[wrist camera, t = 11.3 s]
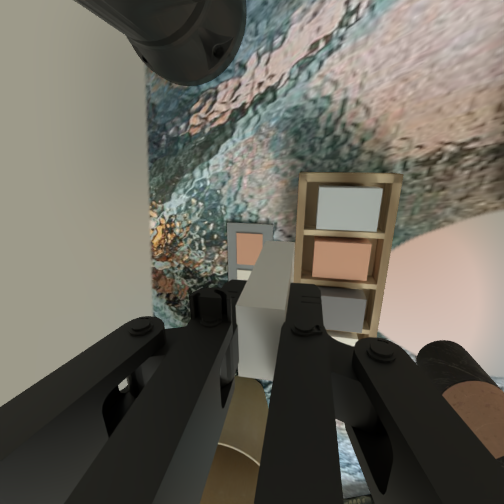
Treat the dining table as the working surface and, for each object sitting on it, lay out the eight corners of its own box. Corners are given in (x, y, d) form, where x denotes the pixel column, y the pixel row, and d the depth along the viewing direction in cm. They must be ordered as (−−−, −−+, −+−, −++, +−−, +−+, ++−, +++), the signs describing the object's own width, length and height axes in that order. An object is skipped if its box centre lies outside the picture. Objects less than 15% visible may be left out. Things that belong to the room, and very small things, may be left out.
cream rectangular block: (305, 349, 45) (305, 362, 42) (307, 322, 44) (307, 333, 41) (351, 355, 44) (354, 368, 41) (354, 327, 42) (358, 339, 40)
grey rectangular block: (308, 316, 42) (308, 327, 39) (311, 285, 40) (311, 294, 37) (358, 321, 40) (361, 333, 38) (362, 289, 39) (366, 299, 36)
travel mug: (413, 339, 43) (493, 478, 24) (470, 336, 41) (605, 483, 22) (415, 380, 45) (491, 537, 26) (470, 379, 43) (593, 546, 24)
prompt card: (229, 304, 47) (228, 305, 47) (227, 222, 43) (226, 222, 42) (270, 308, 46) (270, 309, 45) (273, 224, 41) (272, 225, 41)
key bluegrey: (315, 223, 37) (316, 228, 35) (318, 185, 36) (319, 187, 33) (371, 226, 36) (376, 231, 33) (376, 186, 35) (382, 188, 32)
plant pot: (197, 360, 52) (153, 440, 37) (275, 355, 49) (261, 441, 34) (217, 422, 56) (184, 517, 41) (291, 422, 52) (284, 526, 38)
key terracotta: (311, 268, 41) (312, 276, 38) (314, 235, 39) (314, 241, 36) (362, 272, 40) (366, 280, 37) (367, 238, 38) (371, 244, 35)
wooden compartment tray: (290, 349, 48) (288, 365, 44) (300, 171, 39) (299, 173, 35) (364, 358, 45) (369, 376, 42) (393, 172, 36) (403, 174, 33)
